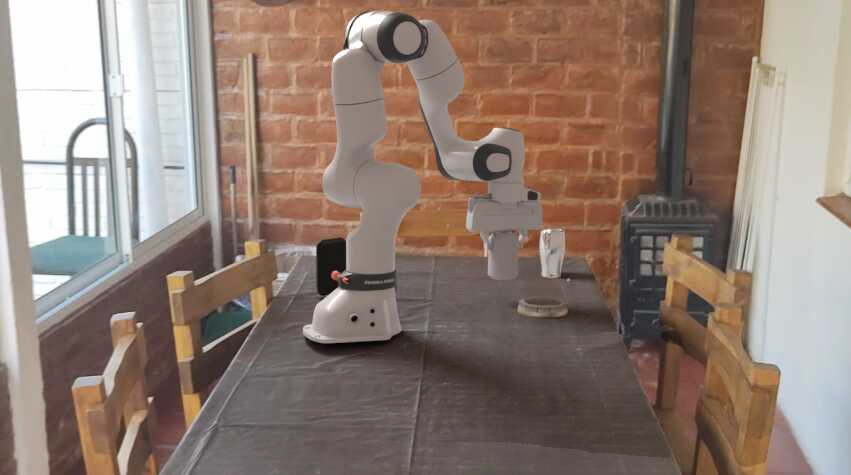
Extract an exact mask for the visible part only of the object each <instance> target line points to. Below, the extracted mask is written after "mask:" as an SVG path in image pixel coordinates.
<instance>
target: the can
mask: <svg viewBox="0 0 851 475" xmlns="http://www.w3.org/2000/svg"><path fill="white" fill-rule="evenodd" d="M488 240H489V242H492V249H491V250H487V252H488V253H487V275H488V276H489V277H490V279H492V280H496V281H512V280H515V278H517V277H518V276H519V250H520V248H519V236H518V235H517V230H514V231H492V232H491V234H489V236H488Z"/></svg>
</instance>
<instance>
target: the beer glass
mask: <svg viewBox="0 0 851 475" xmlns="http://www.w3.org/2000/svg"><path fill="white" fill-rule="evenodd" d="M565 232H566V230H563V229H559V228H558V229H557V228H547V229H546V228H545V229H541V230H540V237H539V256H540V264H541V277H544V278H547V279H557V278H560V277H562V267H563V262H564V258H565V250H566V249H565V248H566V234H565Z"/></svg>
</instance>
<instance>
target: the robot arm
mask: <svg viewBox="0 0 851 475" xmlns="http://www.w3.org/2000/svg"><path fill="white" fill-rule="evenodd" d="M344 35H345V37H344V41H343V46H342V49H343V50H342V51H339V52H338V53H337V54H336V55H335V56H334V57H333V60H332V61H331V76H330V77H331V81H330V82H331V96H332V101H333V102H332V103H333V110H334V117H335V123H336V124H335V125H336V134H337V135H336V137H337V139H336V140H337V141H336V147H335V148H336V149H335V152H334V156H333V159H332V160H331V162H330V164H329V165H328V166H327V167H326V168H325V170H324V172H323V174H322V179H321V188H322V192H323V193H324V195H325V197H326V198H327V199H328V200H330V201H331V202H333V203H335V204H338V205H340V206H343V207H346V208H353V209H362V217H361V219H360V222H359V225H358V226H357V227H355V228H353V229H352V230H350V232H349V233H348V234H347V237H346V239H345V241H346V270H345V271H344V272H342V273H340V272H338V271H333V273H332V275H331V276H333V277H332V279H334V280H336V281H338V286H339V287H338V288H336V289H335V290H334V291H333V292H332V293H330V294H329V295H327V296H325V297H324V298H323V299H322V300H321V301H319V302H317V304H316V305H315V308H314V310H313V314H312V315H313V316H312V323H311V324H305V325H304V326H303V327H302V334H303V336H305V337H306V338H307V339H309V340H311V341H313V342H315V343H320V344H336V343H339V344H340V343H355V342H356V343H357V342H373V341H376V342H377V341H387V340H390V339H391V338H392V337H393V336H396V335H398V334H400V333H401V332H402V330H403V329H402V326H401V323H400V318H399V313H398V307H397V299H396V298H397V296H396V293H397V286H398V275H397V273H398V272H397V269H396V265H395V263H396V244H397V243H396V240H397V234H398V231H399V227H400V225H401V222H402V221H403V219H404V217H405V216H406V214H407V213H408V212H409V211H410V210H411V209H413V208H414V207H415V206H416V204H417V203H418V201H419V199H420V197H421V192H422V183H421V179H420V176H419V174H418V173H417V171H416V170H415V169H413V168H411V167H409V166H407V165H403V164H401V163H398V162H391V161H390V162H389V161H379V160H376V158H375V151H376V147H377V144H378V143H379V142H381V141H382V140H383V139H384V138H385V136H386V135H387V133H388V119H387V113H386V112H387V111H386V105H385V98H384V97H385V96H384V91H383V85H382V73H383V69H384V66H385V64H393V63H394V64H404V63H405V64H406V65H407V67H408V69H409V71H410V74H411V76H412V78H413V80H414V82H415V84H416V87H417V90H418V103H419V109H420V112H421V114H422V118H423V120H424V122H425V126H426V127H427V128H426V129H427V132H428V134H429V137H430V139H431V142H432V145H433V150H434V153H435V155H434V156H435V161H436V166H437V170H438V171H439V173H440V174H441V176H442V177H444V178H445V179H447V180H449V181H462V180H463V181H470V182H471V181H472V182H482V183H483V182H484V183H485V182H487V193H481V194H479V193H474V194H473V195H472V196H470V197H469V198H468V200H467V213H466V220H465V222H466V223H465V228H466V229H467V230H468V231H469V232H471V233H472V232H473V233H479V236H480V238H481V240H482V241H483V250H486V251H488V250H491V249H492V242H489V237H490V232H491V233H492V231H518V234H519V236H518V238H519V249H523V248H524V241H525V240H526V238H527V236H528V235H529V234H528V233H529V232H528V231H535V230H540V229H541V227H542V226H543V206H542V203H541V202H540V201H541V200H542V194H541V192H539V191H536V190H534V189H531V188H529V187H525V186H524V183H525V180H524V176H523V173H524V172H523V171H524V167H525V163H526V162H525V160H526V157H525V156H526V155H525V153H526V151H525V138H524V135H523V133H522V132H521V130H518V129H515V128H512V127H511V128H510V127H504V126H496V127H494V128H492V130H491V132H490V133H489V134H487V135H486V136H484V137H483V138H480V139H479V140H474V141H473V140H465V139H463V138H461V137H460V136H458V134H457V133H456V130H455V128H454V124H453V122H452V118H451V116H450V113H449V111H448V104H450V103H451V102H453V101H454V100H455V99H456V98H458V96H459V95H460V94H461V92H463V88H464V86H465V84H466V83H465V82H466V78H465V72H464V68H463V66H462V63H461V61H460V60H459V58H458V56H457V53H456V51H455V49H454V48H453V46H452V43H451V42H450V40H449V39H448V37H447V35H446V34H445V32H444V31H443V29H442V28H441V27H440V25H439V24H438V23H437V22H435V21H434V20H432V19H420V20H418V19H417V18H415V17H414V16H412V15H411V14H408V13H405V12H402V11H396V12H395V11H390V10H385V9H383V10H381V9H380V10H374V11H373V10H372V11H370V10H369V11H368V10H367V11H363V12H360V13H358V14H356V15H355V16H354V17H352V19H350V21H349V22H348V24H347V26H346V30H345V33H344Z"/></svg>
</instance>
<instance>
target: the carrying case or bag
mask: <svg viewBox="0 0 851 475" xmlns="http://www.w3.org/2000/svg"><path fill="white" fill-rule="evenodd" d="M315 248H316V249H315V257H316V259H315V262H316V264H315V266H316V269H315V271H316V273H315V274H316V278H315V280H316V281H315V282H316V283H315V284H316V293H317V294H318V295H319V296H321V297H326V296H325V295H327V296H328V294H330V293H332V292H333V291H334V290H335V289H336V288H338V287H339V286H338V281H336V280H334V279H332V277H333V276H331V275H332V273H333V271H338V272H340V273H342V272H344V271H345V270H346V239H344V238H343V237H334V238H326V239H321V240H319V241H318V242H317V243H316V247H315Z"/></svg>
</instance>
